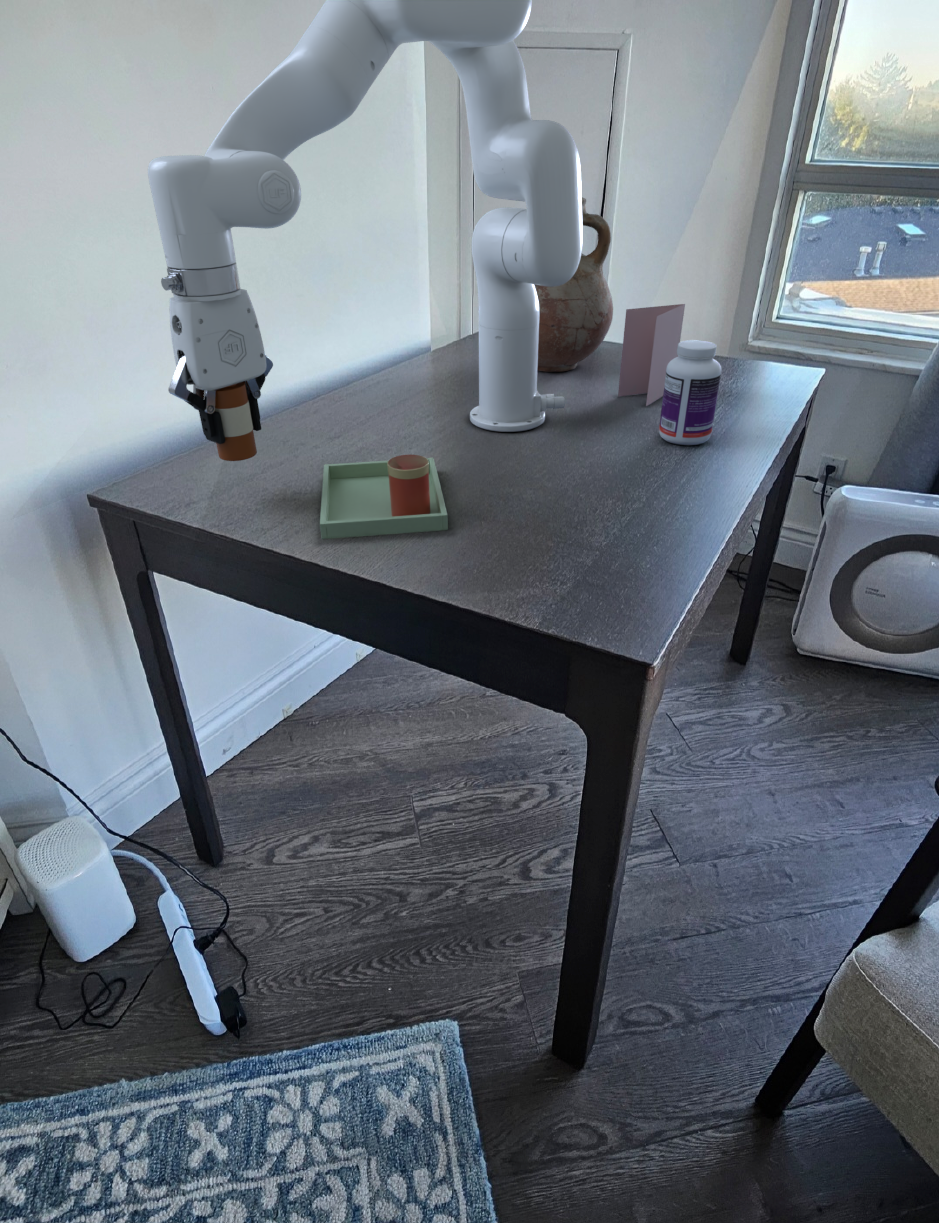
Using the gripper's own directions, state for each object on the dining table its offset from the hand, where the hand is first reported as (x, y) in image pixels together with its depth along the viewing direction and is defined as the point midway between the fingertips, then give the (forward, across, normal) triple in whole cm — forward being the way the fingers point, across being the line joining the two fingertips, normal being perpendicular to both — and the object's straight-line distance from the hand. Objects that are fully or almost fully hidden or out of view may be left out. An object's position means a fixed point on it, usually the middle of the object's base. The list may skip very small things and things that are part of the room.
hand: (234, 433), depth 96 cm
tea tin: (+9, +10, -21) cm, 25 cm away
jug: (+10, +79, +1) cm, 79 cm away
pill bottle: (+10, +56, -38) cm, 68 cm away
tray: (+10, +10, -16) cm, 21 cm away
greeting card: (+10, +72, -25) cm, 76 cm away
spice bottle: (+3, 0, 0) cm, 3 cm away
